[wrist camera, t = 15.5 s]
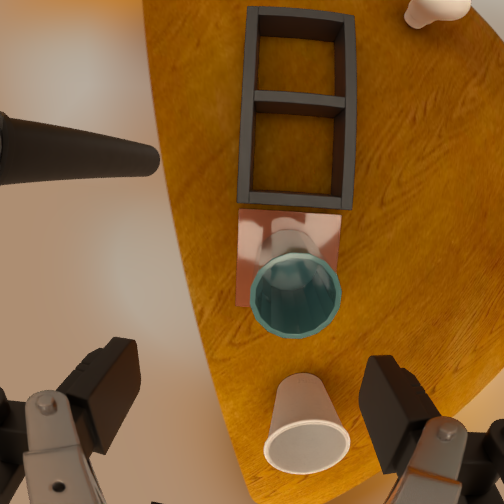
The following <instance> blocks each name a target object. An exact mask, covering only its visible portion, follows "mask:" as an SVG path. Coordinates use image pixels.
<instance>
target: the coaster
mask: <svg viewBox="0 0 504 504" xmlns="http://www.w3.org/2000/svg"><path fill="white" fill-rule="evenodd" d="M341 218H342V215H339V214H326V213H311V212H296V211H280V210H262V209H242V208H239V221H238V247H237V275H236V306H244V307H251V306H250V287H251V281H252V276H253V270H254V264H255V258H256V254H257V252H258V249H259V247H260V246H261V244H262V243H263V241H264V240H265V239H266V238H267V237H269V236H270V235H272V234H273V233H276V232H278V231H282V230H296V231H299V232H302V233H304V234H306V235H307V236H309V237H310V238H311V239H312V240H313V241H314V243H315V244H316V245H317V246H318V247H319V249H320V250H321V252H322V253H323V255H324V256H325V258H326V259H327V261H328V262H329V264H330V265H331V266H332V268H333V269H334V271H335V272H336V268H337V259H338V250H339V240H340V229H341Z"/></svg>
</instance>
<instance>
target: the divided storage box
mask: <svg viewBox="0 0 504 504" xmlns="http://www.w3.org/2000/svg"><path fill="white" fill-rule="evenodd" d="M260 36H270V37H288V38H301V39H312V40H321V41H329V42H334V50H335V96H330V95H321V94H311V93H299V92H286V91H267V90H257V84H258V64H259V43H260ZM256 112H257V113H277V114H292V115H305V116H317V117H327V118H334V141H333V164H332V182H331V195H330V194H318V193H305V192H290V191H273V190H254V189H253V169H254V147H255V126H256ZM356 123H357V68H356V38H355V20H354V15H348V14H342V13H335V12H328V11H319V10H310V9H300V8H286V7H265V6H259V7H258V6H247V18H246V33H245V49H244V66H243V83H242V102H241V121H240V141H239V162H238V184H237V203H247V204H248V203H249V204H267V205H284V206H300V207H315V208H328V209H341V210H352V204H353V190H354V174H355V155H356Z"/></svg>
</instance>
